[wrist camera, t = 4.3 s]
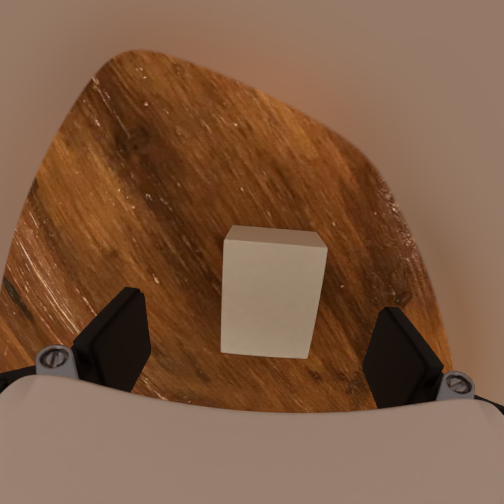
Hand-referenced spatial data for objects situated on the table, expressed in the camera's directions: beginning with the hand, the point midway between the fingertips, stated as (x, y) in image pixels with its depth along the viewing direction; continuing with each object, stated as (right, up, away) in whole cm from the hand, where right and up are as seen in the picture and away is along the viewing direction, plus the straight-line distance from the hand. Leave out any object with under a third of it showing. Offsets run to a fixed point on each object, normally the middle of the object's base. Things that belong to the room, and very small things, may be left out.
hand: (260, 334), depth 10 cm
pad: (+1, +1, +5) cm, 6 cm away
